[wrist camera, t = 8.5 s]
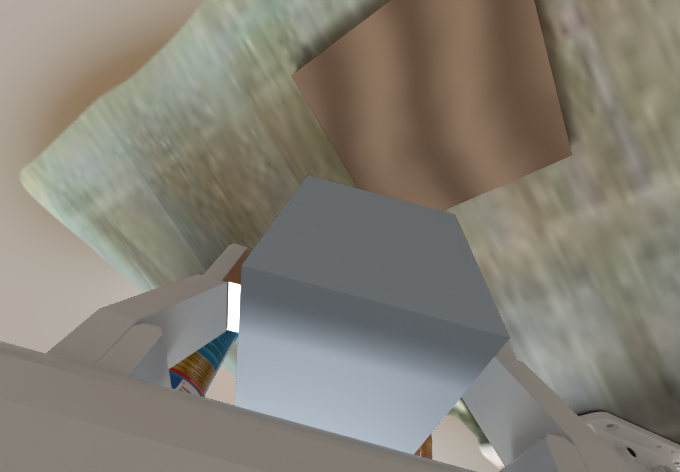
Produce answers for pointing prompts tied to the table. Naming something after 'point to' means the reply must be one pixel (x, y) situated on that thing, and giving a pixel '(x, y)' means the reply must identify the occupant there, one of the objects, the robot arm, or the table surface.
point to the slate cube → (362, 316)
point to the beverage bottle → (201, 365)
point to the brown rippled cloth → (439, 99)
